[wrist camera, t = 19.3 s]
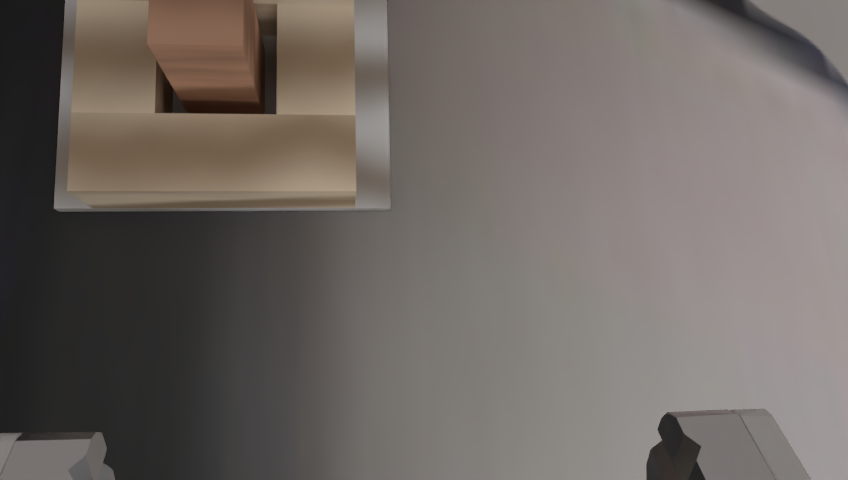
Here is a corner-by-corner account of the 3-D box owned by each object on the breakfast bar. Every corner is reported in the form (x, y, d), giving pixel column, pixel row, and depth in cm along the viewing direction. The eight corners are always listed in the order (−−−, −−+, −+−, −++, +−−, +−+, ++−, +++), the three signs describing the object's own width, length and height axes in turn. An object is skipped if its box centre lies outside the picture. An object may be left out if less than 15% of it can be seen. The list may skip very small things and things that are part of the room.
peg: (264, 119, 43) (242, 45, 34) (191, 119, 43) (147, 43, 33) (265, 52, 44) (243, -40, 34) (193, 50, 44) (150, -43, 34)
